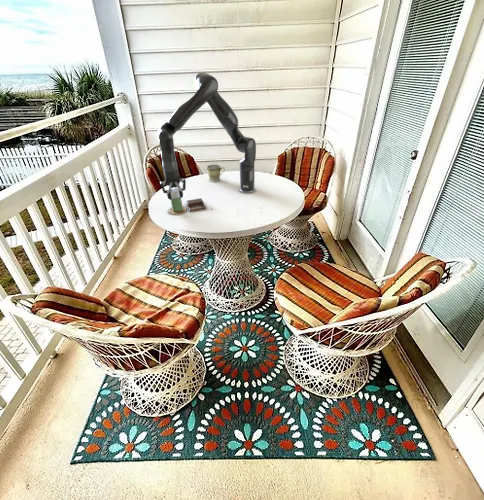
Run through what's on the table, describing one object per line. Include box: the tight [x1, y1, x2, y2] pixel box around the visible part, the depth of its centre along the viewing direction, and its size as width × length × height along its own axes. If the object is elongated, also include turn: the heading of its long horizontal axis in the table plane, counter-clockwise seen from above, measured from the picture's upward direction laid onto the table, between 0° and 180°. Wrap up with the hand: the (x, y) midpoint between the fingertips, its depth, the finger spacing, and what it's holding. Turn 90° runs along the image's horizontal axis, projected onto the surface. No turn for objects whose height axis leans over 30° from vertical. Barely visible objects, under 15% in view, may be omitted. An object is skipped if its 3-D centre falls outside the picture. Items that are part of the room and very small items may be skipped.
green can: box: [169, 187, 184, 212], centre depth 155 cm, size 13×6×12 cm
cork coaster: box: [168, 206, 187, 215], centre depth 159 cm, size 10×10×1 cm
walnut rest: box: [186, 198, 206, 213], centre depth 161 cm, size 10×9×3 cm
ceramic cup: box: [206, 164, 226, 183], centre depth 196 cm, size 13×10×10 cm
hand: (175, 198), depth 155 cm, fingers closed on green can, 6 cm apart
